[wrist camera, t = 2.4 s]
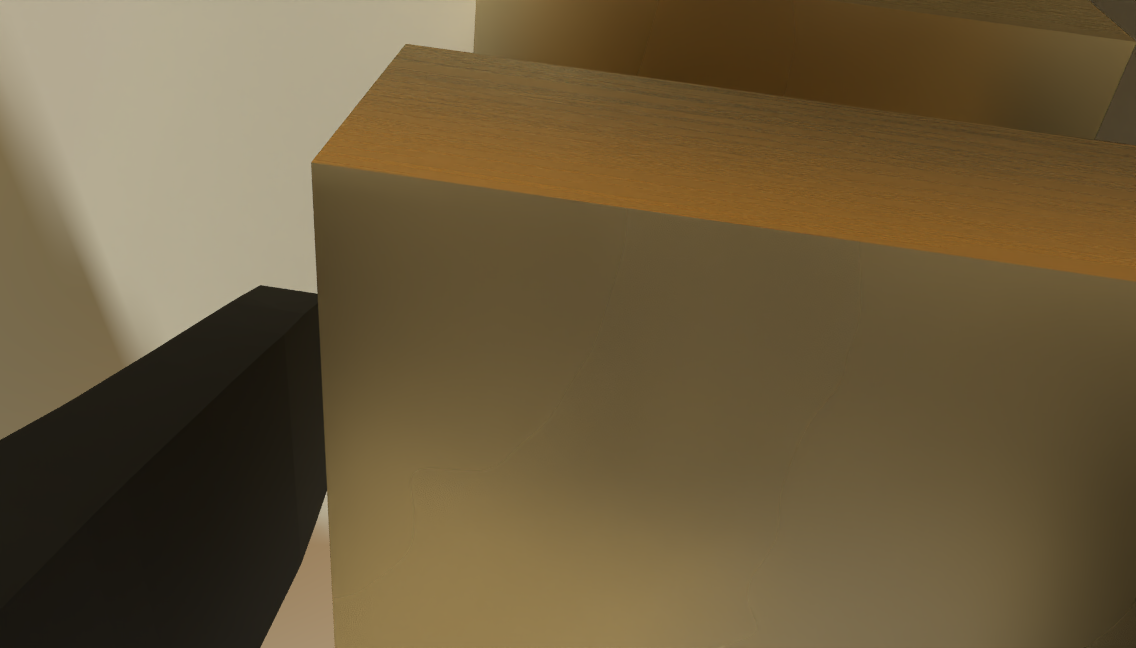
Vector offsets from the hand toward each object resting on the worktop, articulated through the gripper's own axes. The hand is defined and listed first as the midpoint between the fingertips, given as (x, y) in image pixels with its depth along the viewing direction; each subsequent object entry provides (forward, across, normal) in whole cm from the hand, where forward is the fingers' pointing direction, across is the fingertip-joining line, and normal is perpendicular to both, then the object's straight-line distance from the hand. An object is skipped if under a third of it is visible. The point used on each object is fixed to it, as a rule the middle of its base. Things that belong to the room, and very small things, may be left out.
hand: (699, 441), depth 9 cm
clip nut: (+2, 0, -2) cm, 2 cm away
